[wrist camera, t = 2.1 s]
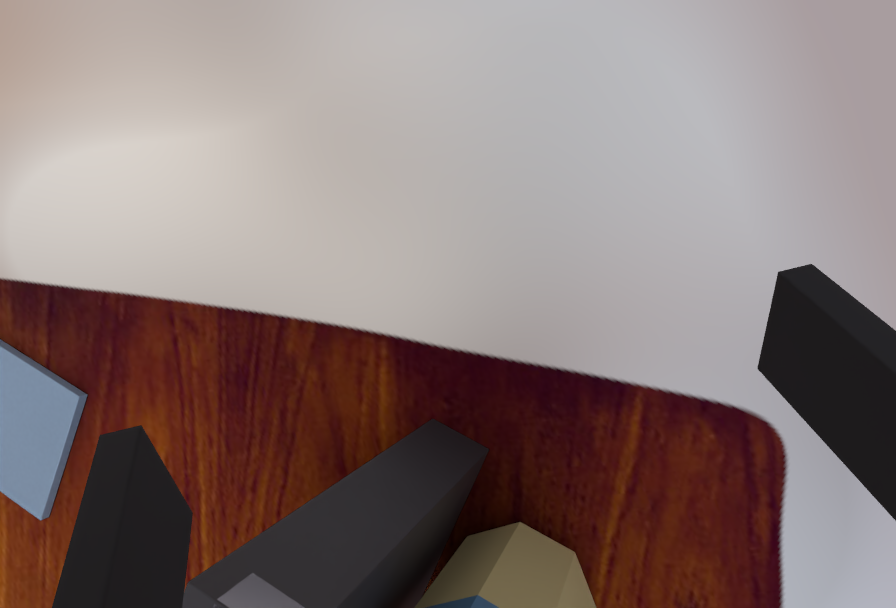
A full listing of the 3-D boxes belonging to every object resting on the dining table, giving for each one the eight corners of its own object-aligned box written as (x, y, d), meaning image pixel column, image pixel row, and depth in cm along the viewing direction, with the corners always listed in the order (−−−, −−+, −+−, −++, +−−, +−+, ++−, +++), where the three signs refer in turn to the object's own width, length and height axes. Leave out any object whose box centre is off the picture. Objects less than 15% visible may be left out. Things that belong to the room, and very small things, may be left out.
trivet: (-12, 331, 53) (-22, 332, 52) (88, 394, 50) (79, 396, 49) (-44, 449, 55) (-54, 452, 54) (49, 517, 52) (40, 520, 51)
